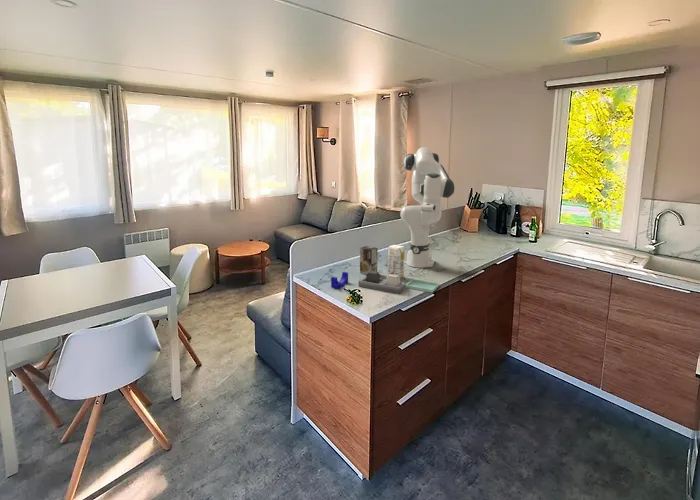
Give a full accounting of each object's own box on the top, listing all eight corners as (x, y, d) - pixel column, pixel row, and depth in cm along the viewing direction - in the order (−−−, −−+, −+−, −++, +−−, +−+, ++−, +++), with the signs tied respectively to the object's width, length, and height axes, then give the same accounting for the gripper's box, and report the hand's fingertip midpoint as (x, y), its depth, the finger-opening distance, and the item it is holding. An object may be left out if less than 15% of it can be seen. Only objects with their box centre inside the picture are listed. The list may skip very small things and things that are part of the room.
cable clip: (337, 289, 209) (337, 278, 208) (331, 287, 212) (331, 277, 210) (350, 283, 219) (350, 273, 217) (343, 281, 221) (343, 271, 220)
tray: (412, 281, 221) (412, 279, 220) (438, 286, 213) (439, 283, 213) (404, 287, 211) (404, 285, 211) (432, 292, 204) (432, 290, 203)
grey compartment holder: (366, 281, 221) (366, 268, 219) (405, 288, 210) (406, 274, 208) (358, 286, 213) (358, 272, 211) (398, 293, 202) (399, 279, 200)
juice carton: (397, 280, 222) (398, 248, 218) (386, 277, 228) (386, 246, 223) (405, 277, 228) (406, 246, 223) (393, 274, 233) (394, 243, 229)
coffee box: (377, 273, 235) (378, 247, 231) (371, 276, 230) (371, 249, 226) (365, 270, 241) (366, 245, 237) (359, 273, 236) (359, 247, 232)
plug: (389, 283, 211) (389, 273, 210) (399, 285, 208) (400, 275, 207) (386, 286, 208) (386, 275, 206) (396, 288, 205) (396, 277, 203)
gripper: (431, 202, 213) (430, 227, 216) (419, 207, 195) (418, 233, 199) (443, 203, 210) (441, 228, 213) (431, 208, 192) (429, 235, 196)
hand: (430, 231), depth 206 cm, fingers open, 8 cm apart
